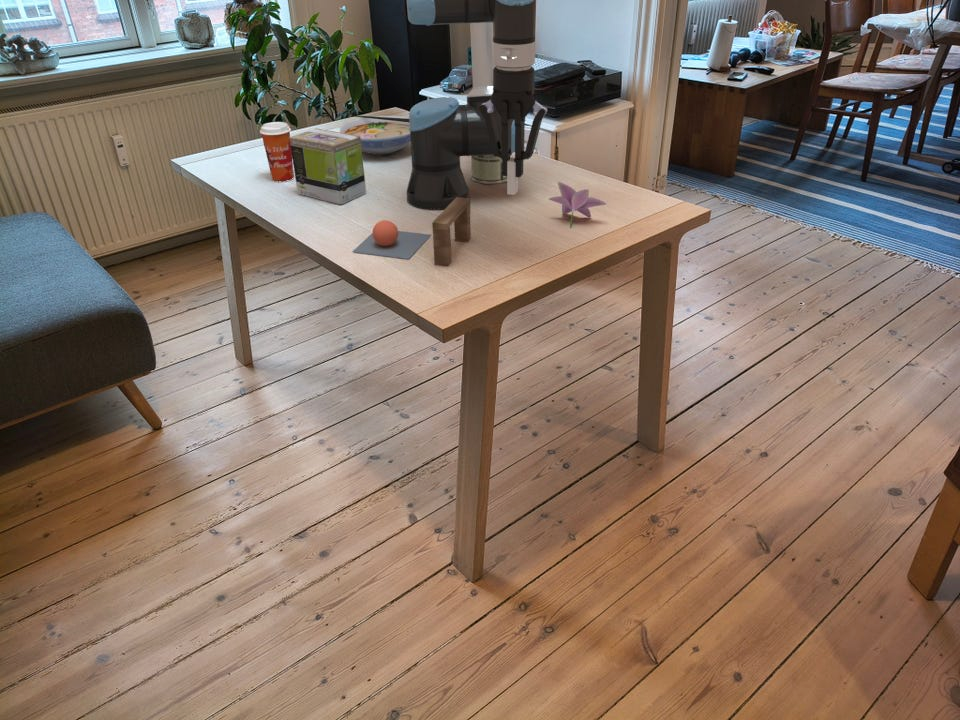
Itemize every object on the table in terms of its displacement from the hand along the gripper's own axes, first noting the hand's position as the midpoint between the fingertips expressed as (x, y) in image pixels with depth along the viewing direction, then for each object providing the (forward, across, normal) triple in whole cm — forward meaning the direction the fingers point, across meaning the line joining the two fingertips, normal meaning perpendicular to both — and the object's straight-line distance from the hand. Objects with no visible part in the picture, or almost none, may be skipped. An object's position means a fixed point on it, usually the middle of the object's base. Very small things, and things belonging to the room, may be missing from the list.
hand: (512, 192), depth 148 cm
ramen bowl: (+15, -56, +59) cm, 83 cm away
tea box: (+15, -54, +24) cm, 61 cm away
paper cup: (+15, -72, +31) cm, 80 cm away
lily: (+15, +8, +23) cm, 28 cm away
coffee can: (+15, -19, +46) cm, 52 cm away
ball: (+12, -28, -1) cm, 30 cm away
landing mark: (+14, -27, 0) cm, 31 cm away
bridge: (+14, -13, 0) cm, 19 cm away
